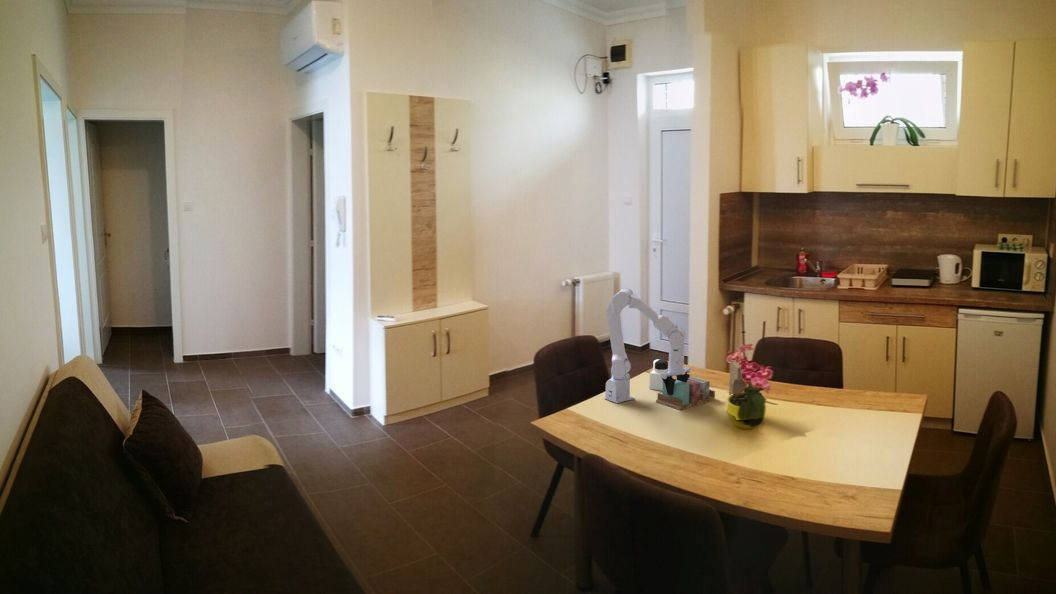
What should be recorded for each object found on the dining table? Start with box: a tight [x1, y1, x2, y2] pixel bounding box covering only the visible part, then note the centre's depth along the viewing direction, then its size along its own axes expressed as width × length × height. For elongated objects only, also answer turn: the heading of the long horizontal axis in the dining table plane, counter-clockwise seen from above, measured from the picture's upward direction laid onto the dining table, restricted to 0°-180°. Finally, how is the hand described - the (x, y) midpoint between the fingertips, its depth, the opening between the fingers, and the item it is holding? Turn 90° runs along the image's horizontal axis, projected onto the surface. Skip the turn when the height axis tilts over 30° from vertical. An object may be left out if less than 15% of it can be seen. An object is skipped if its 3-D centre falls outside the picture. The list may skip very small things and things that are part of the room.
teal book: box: [661, 380, 689, 406], centre depth 277 cm, size 4×10×8 cm, turn 37°
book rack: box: [655, 375, 716, 411], centre depth 281 cm, size 21×12×8 cm, turn 127°
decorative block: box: [728, 359, 746, 396], centre depth 262 cm, size 11×6×20 cm, turn 177°
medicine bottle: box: [648, 358, 669, 391], centre depth 298 cm, size 7×7×12 cm
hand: (675, 393), depth 277 cm, fingers open, 6 cm apart
